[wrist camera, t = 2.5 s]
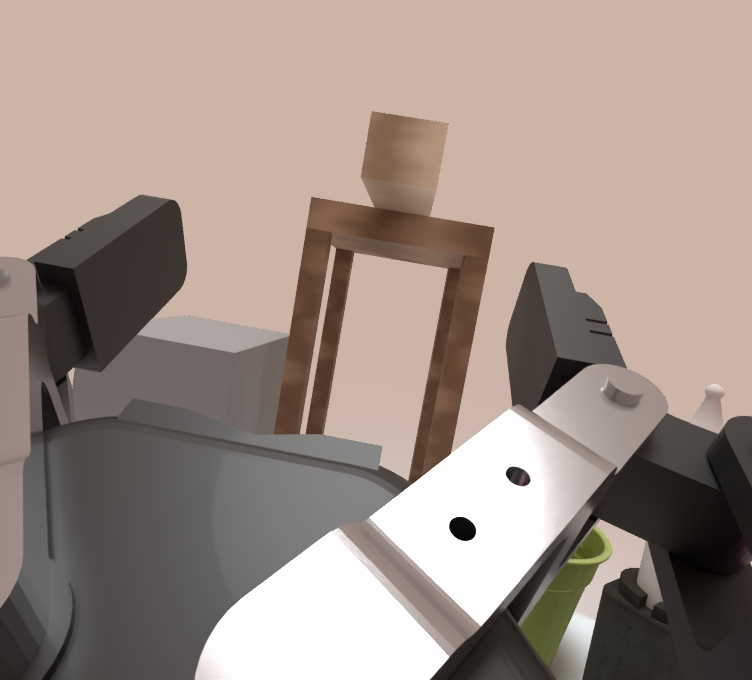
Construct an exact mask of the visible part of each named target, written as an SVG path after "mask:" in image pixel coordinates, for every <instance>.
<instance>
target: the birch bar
mask: <svg viewBox="0 0 752 680" xmlns="http://www.w3.org/2000/svg"><path fill="white" fill-rule="evenodd" d="M447 129H448V123H442V122H436V121H430V120H424V119H417V118H411V117H404V116H398V115H392V114H385V113H379V112H373V111H372V113H371V119H370V125H369V131H368V137H367V143H366V149H365V155H364V161H363V167H362V173H361V178H362V180H363V183H364V185H365V187H366V189H367V191H368V194H369V196H370V198H371V200H372V203H373V205H374V207H375V208H380V209H386V210H392V211H398V212H404V213H410V214H416V215H422V216H428V217H430V213H431V210H432V206H433V201H434V197H435V193H436V189H437V184H438V178H439V172H440V167H441V162H442V156H443V151H444V145H445V140H446V135H447Z"/></svg>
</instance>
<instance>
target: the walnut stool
mask: <svg viewBox="0 0 752 680" xmlns="http://www.w3.org/2000/svg"><path fill="white" fill-rule="evenodd" d="M493 233H494V228H493V227H487V226H481V225H476V224H470V223H464V222H458V221H452V220H446V219H440V218H434V217H428V216H422V215H416V214H410V213H404V212H398V211H392V210H386V209H380V208H374V207H368V206H362V205H356V204H350V203H344V202H338V201H332V200H326V199H320V198H314V197H312V198H311V204H310V210H309V216H308V222H307V228H306V235H305V241H304V247H303V253H302V260H301V267H300V272H299V279H298V285H297V291H296V298H295V304H294V310H293V316H292V323H291V329H290V335H289V341H288V347H287V354H286V360H285V366H284V372H283V379H282V385H281V391H280V398H279V404H278V410H277V416H276V423H275V429H274V435H285V434H300V428H301V422H302V417H303V411H304V404H305V398H306V392H307V386H308V380H309V374H310V368H311V362H312V356H313V350H314V343H315V338H316V332H317V325H318V319H319V313H320V307H321V301H322V295H323V288H324V283H325V277H326V271H327V264H328V259H329V252H330V246H331V245H333V246H334V247H335V248H336V254H335V260H334V266H333V272H332V278H331V284H330V290H329V297H328V302H327V309H326V314H325V321H324V326H323V333H322V339H321V345H320V351H319V357H318V363H317V369H316V375H315V381H314V387H313V393H312V399H311V405H310V411H309V417H308V423H307V429H306V434H321V435H323V434H324V427H325V422H326V416H327V410H328V404H329V398H330V392H331V387H332V380H333V375H334V369H335V363H336V357H337V351H338V345H339V339H340V333H341V328H342V321H343V316H344V310H345V304H346V298H347V291H348V286H349V280H350V274H351V268H352V262H353V256H354V252H355V253H361V254H367V255H373V256H378V257H384V258H390V259H396V260H401V261H408V262H414V263H419V264H424V265H431V266H436V267H442V268H448V272H447V277H446V282H445V287H444V293H443V298H442V303H441V309H440V314H439V320H438V325H437V330H436V336H435V341H434V347H433V352H432V357H431V362H430V368H429V373H428V379H427V384H426V389H425V394H424V400H423V405H422V411H421V416H420V421H419V427H418V433H417V437H416V443H415V448H414V453H413V459H412V464H411V469H410V475H409V480H408V482H410V483H411V484H414V483H415V482H417V481H418V480H419V479H420V478H422V477H423V476H424V475H426V474H427V473H428V472H429V471H431V470H432V469H433V468H435V467H436V466H437V465H438V464H440V463H441V462H442V461H444V460H445V459H446V458H447V457H449V456H450V455H451V450H452V445H453V440H454V434H455V429H456V424H457V419H458V413H459V409H460V403H461V398H462V393H463V388H464V383H465V378H466V372H467V367H468V362H469V357H470V352H471V347H472V341H473V336H474V331H475V326H476V321H477V316H478V311H479V305H480V300H481V295H482V290H483V284H484V279H485V274H486V269H487V264H488V259H489V254H490V249H491V243H492V238H493Z"/></svg>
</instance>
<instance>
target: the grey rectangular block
mask: <svg viewBox="0 0 752 680" xmlns="http://www.w3.org/2000/svg"><path fill="white" fill-rule="evenodd" d="M289 335H290V334H286V333H281V332H275V331H269V330H264V329H258V328H253V327H248V326H242V325H236V324H231V323H226V322H220V321H215V320H209V319H204V318H198V317H193V316H181V317H180V316H179V317H167V318H154V319H151V320H150V321H149V322H148V324H147V325H146V326H145V327H144V328H143V329H142V330H141V331H140V332H139V333H138V334H137V335H136V336H135V337H134V338H133V339H132V340H131V341H130V342H129V343H128V345H127V346H126V347H125V348H124V349H123V350H122V351H121V352H120V353H119V354H118V355H117V356H116V357H115V358H114V359H113V360H112V361H111V362H110V363H109V364H108V366H107V367H106V368H105V369H104V370H103V371H102V372H101V373H100V372H95V371H90V370H84V369H79V368H75V372H74V379H73V388H72V393H73V402H74V411H75V420H76V421H80V420H86V419H92V418H99V417H110V416H119V415H120V414H121V412H122V411H123V410H124V409H125V407H126V406H127V405H128V404H129V402H130V401H131V400H132V399H133V398H134V399H139V400H144V401H149V402H154V403H160V404H165V405H170V406H175V407H180V408H186V409H191V410H194V411H197V412H199V413H201V414H203V415H206V416H208V417H210V418H213V419H215V420H217V421H220V422H222V423H224V424H227V425H229V426H231V427H233V428H236V429H238V430H240V431H243V432H245V433H248V434H256V435H274V429H275V423H276V416H277V410H278V404H279V398H280V391H281V385H282V379H283V372H284V366H285V360H286V354H287V347H288V341H289Z"/></svg>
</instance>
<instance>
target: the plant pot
mask: <svg viewBox="0 0 752 680" xmlns="http://www.w3.org/2000/svg"><path fill="white" fill-rule="evenodd" d="M611 554H612V545H611V543H610V541H609V539H608V538H607V537H606V535H605V534H604V533H603V532H602V531H601V530H600V529H599V528H598V527H596V526H595V527H594V528H593V530H592V531H591V532H590V533H589V535H588V536H587V537H586V539H585V540H584V541H583V542H582V544H581V545H580V546H579V548H578V549H577V550H576V551H575V553H574V554H573V555H572V557H571V558H570V559H569V560H568V562H567V563H566V564H565V566H564V567H563V568H562V569H561V571H560V572H559V573H558V575H557V576H556V577H555V578H554V580H553V581H552V582H551V584H550V585H549V586H548V588H547V589H546V591H545V592H544V593H543V595H542V596H541V598H540V599H539V601H538V602H537V604H536V605H535V607H534V608H533V609H532V611H531V612H530V614H529V615H528V617H527V618H526V619H525V621H524V622H523V623H522V625H521V626H520V628H521V629H522V631H523V632H524V633H525V635H526V636H527V638H528V639H529V641H530V642H531V644H532V645H533V647H534V648H535V649H536V651H537V652H538V654H539V655H540V657H541V658H542V660H543V661H544V663H545V664H546V665H547V667H548V668H549V666H550V664H551V662H552V660H553V658H554V655H555V653H556V651H557V649H558V646H559V644H560V642H561V639H562V637H563V635H564V633H565V631H566V629H567V626H568V624H569V622H570V620H571V617H572V615H573V613H574V611H575V608H576V606H577V604H578V602H579V600H580V597H581V595H582V593H583V591H584V589H585V587H586V586H587V585H588V584H590V582H591V581H592V579H593V576H594V574H595V572H596V570H597V568H598V566H599V564H601V563H603V562H605V561H606V560H608V559H609V558H610V556H611Z"/></svg>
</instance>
